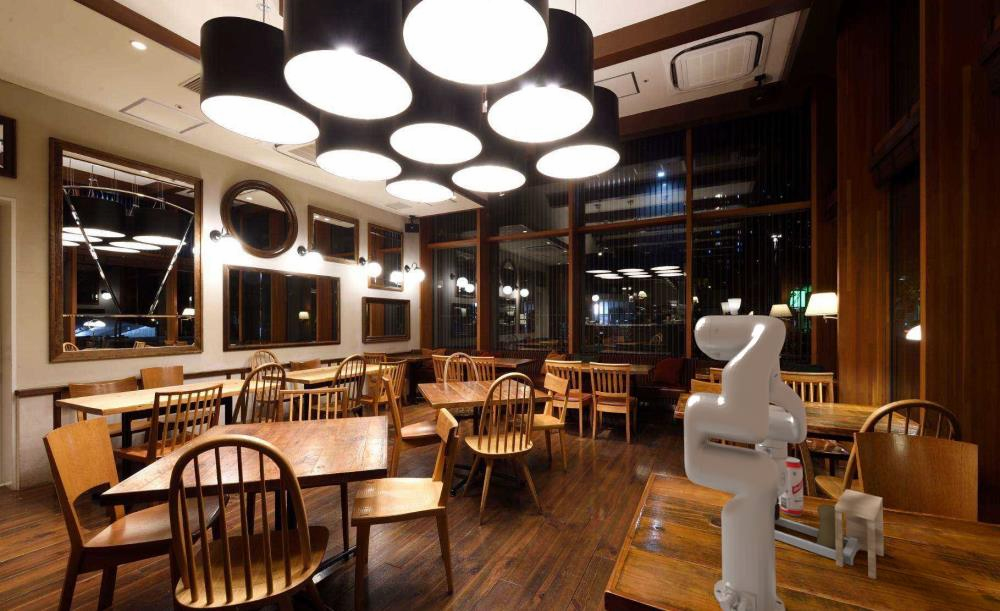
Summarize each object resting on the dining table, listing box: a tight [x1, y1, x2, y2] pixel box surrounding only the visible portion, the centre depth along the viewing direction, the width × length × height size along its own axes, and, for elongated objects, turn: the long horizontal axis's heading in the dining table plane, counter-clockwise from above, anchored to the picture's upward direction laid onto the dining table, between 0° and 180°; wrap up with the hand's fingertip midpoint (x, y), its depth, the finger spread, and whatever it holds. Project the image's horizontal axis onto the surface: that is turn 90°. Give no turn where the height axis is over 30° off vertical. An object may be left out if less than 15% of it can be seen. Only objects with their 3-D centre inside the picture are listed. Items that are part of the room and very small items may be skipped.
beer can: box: [778, 456, 804, 517], centre depth 125 cm, size 6×6×16 cm
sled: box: [774, 516, 861, 566], centre depth 109 cm, size 21×10×6 cm, turn 42°
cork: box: [815, 503, 845, 550], centre depth 105 cm, size 6×6×11 cm
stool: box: [834, 488, 885, 580], centre depth 101 cm, size 7×14×14 cm, turn 132°
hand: (772, 517), depth 114 cm, fingers closed
